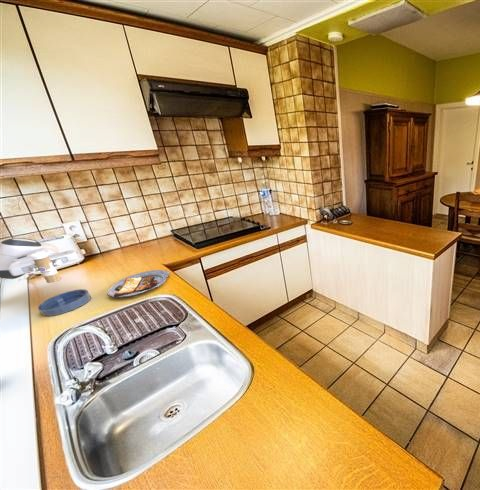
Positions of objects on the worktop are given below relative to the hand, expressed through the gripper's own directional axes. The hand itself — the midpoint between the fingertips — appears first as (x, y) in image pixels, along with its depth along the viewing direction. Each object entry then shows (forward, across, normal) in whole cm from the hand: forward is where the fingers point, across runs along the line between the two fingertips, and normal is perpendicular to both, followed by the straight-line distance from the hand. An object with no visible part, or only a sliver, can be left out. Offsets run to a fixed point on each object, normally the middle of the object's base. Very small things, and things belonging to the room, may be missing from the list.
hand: (45, 267), depth 114 cm
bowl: (+3, 0, -19) cm, 19 cm away
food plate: (+10, -26, -19) cm, 34 cm away
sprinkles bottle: (-1, 0, -7) cm, 7 cm away
